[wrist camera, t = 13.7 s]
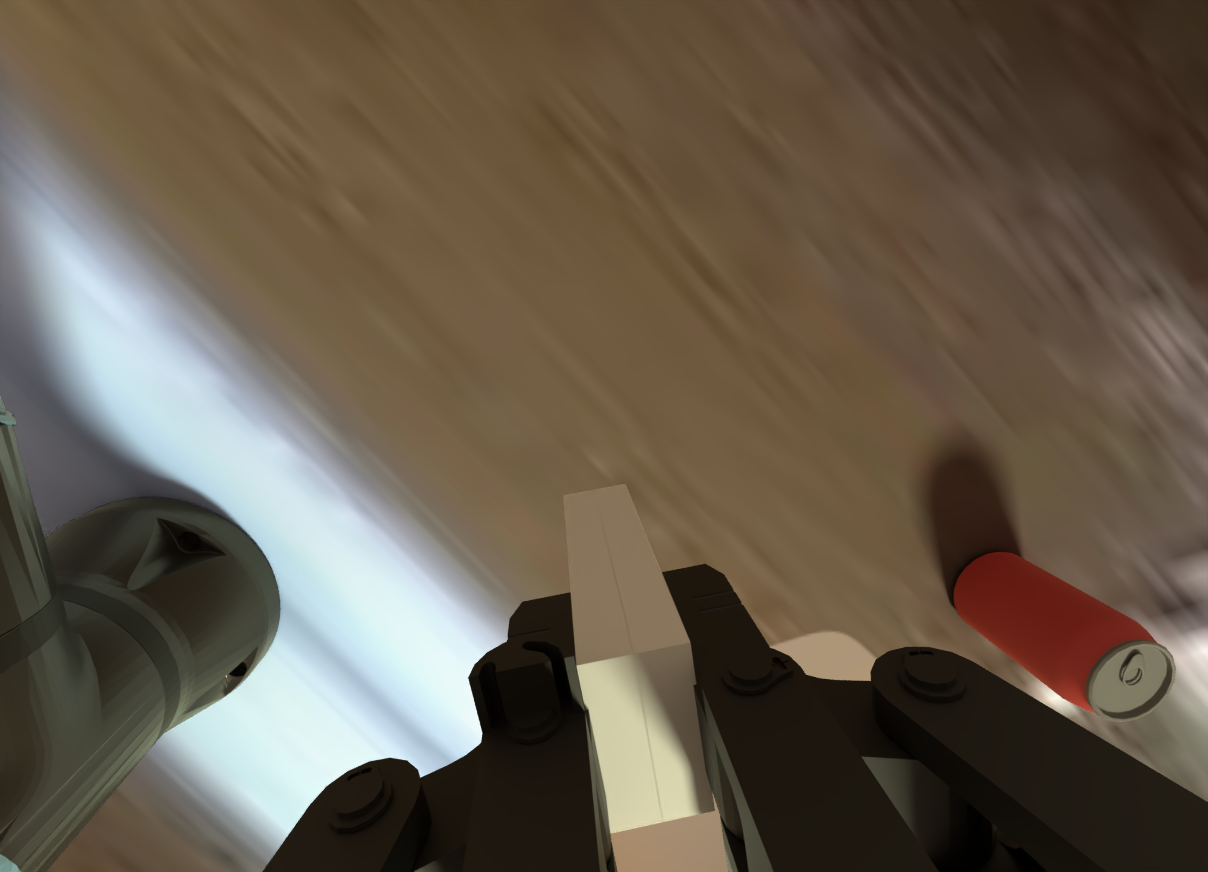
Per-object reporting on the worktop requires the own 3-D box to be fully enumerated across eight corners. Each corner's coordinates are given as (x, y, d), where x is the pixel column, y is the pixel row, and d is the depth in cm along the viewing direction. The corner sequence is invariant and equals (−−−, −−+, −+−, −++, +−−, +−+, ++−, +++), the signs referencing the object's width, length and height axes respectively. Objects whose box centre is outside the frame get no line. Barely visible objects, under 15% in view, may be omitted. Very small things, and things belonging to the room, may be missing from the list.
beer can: (1034, 547, 46) (1197, 632, 35) (1018, 622, 48) (1170, 727, 36) (955, 549, 46) (1095, 636, 34) (942, 624, 47) (1072, 733, 35)
